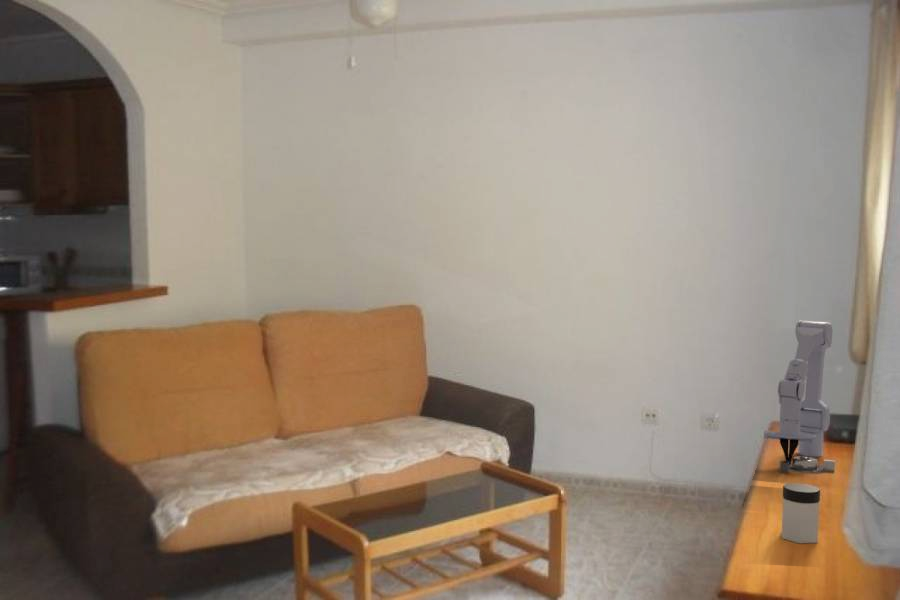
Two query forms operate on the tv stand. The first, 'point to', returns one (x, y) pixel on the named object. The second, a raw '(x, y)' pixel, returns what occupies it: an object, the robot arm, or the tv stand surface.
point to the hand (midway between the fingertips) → (788, 463)
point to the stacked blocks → (784, 466)
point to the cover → (804, 463)
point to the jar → (800, 513)
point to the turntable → (818, 468)
